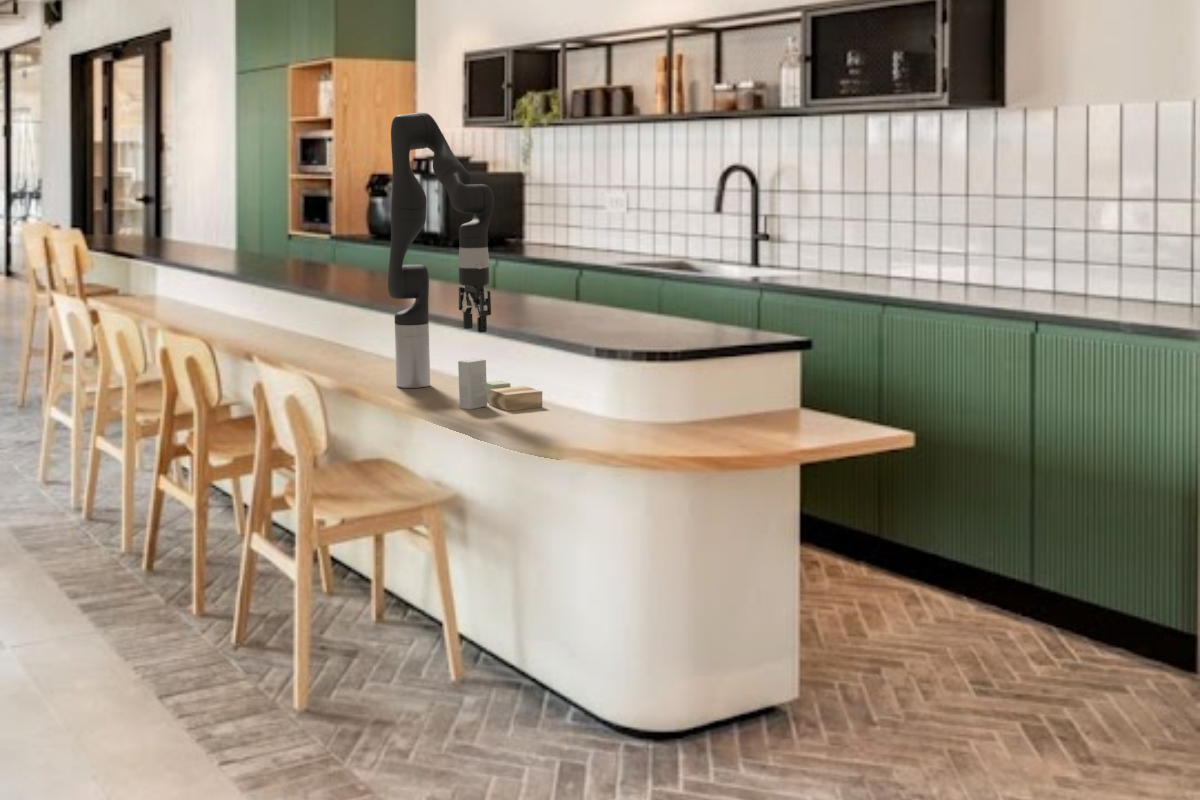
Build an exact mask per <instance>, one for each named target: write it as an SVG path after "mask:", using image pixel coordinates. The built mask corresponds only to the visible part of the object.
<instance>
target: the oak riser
mask: <svg viewBox="0 0 1200 800" xmlns="http://www.w3.org/2000/svg"><path fill="white" fill-rule="evenodd" d="M488 403H489V406H491V407H495V408H498V409H501V410H504V411H507V412H508V411H518V410H526V409H527V410H528V409H537V408H543V391H541V390H539V389H536V388H532V387H530V386H529V387H528V386H527V385H518V386H510V387H508V388H497V389H489V402H488Z"/></svg>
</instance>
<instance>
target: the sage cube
mask: <svg viewBox="0 0 1200 800" xmlns="http://www.w3.org/2000/svg"><path fill="white" fill-rule="evenodd" d="M486 382H487V403H489V389H497V388H508V387H511V383H510V382H508V381H504V380H494V381H486Z"/></svg>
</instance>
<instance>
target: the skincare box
mask: <svg viewBox="0 0 1200 800" xmlns="http://www.w3.org/2000/svg"><path fill="white" fill-rule="evenodd" d="M457 364H458V365H457V366H458V370H457V371H458V389H459V408H460V409H466V410H476V409H479V408H483V407H488V402H487V382H488V381H487V360H486V359H484V358H470V359H469V358H468V359H464V360H463V359H462V360H458V362H457Z"/></svg>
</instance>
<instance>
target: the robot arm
mask: <svg viewBox="0 0 1200 800" xmlns="http://www.w3.org/2000/svg"><path fill="white" fill-rule="evenodd" d="M390 145H391V146H390V147H391V148H390V149H391V159H392V161H391V163H392V182H391V183H392V189H391V207H390V209H391V210H390V224H391V225H390V251H389V260H388V261H389V262H388V263H389V264H388V270H387V271H388V273H387V291H388V294H389V295H390V298H392V299H395V300H404V299H405V300H406V299H407V300H408V299H409V300H410V299H412V300H413V299H415V300H414V302H413V304H411V305H410V306H409V307H406V308H405V309H402V310H400V311H398V312H396V313H395V314H394V337H395V338H394V339H395V342H394V343H395V344H394V345H395V379H396V380H395V381H396V382H395V383H396V384H395V385H396V387H398V388H406V389H411V388H412V389H414V388H415V389H417V388H419V389H420V388H425V387H430V386H431V362H430V361H431V360H430V359H431V358H430V326H429V324H430V323H429V321H430V320H429V315H430V314H429V297H430V295H429V292H430V275H429V270H428V268H427V267H426V265H425V264H421V263H419V264H418V263H417V264H403V263H404V260H405V256H406V255H407V252H408V250H409V248H410V246H411V245H412V243H413V242H414V241H415V239H416V238H417V236H418V235H419V233H421V231H422V229H423V227H424V226H425V223H426V221H427V220H426V219H427V196H426V193H425V190H424V189H423V187H422V185H421V184H420V182H419V180H418V179H417V177H416V175H415V174H414V172H413V170H412V167H411V162H410V159H411V158H410V153H411V151H413V150H422V149H429V150H430V151H432V152H433V158H432V170H433V173H434V176H435V177H436V178H437V180H438V181H439V182H440V183H441V186H443V188H445V190H446V193H447V195H448V198H449V201H450V205H451V206H452V208H453V210H455V211H456V212H457V213H460V214H474V215H473V216H472V219H471V220H470V221H468V222H465V223H462V224H461V225H460V226H459V229H458V239H459V240H458V243H459V245H458V246H459V247H458V248H459V249H458V283H459V285H460V286H459V287H458V310H459V311H461V313H462V318H463V319H462V320H463V326H462V327H463V329H466V330H469V329H473V326H474V325H473V311H475V313H476V316H477V318H476V320H477V321H476V322H477V323H476V325H477V330H476V331H477V332H478V333H479V334H481V333H487V329H488V328H487V327H488V325H487V324H488V323H487V321H488V320H487V319H488V317H489V316H492V305H491V304H492V303H491V291H490V290H485V288H484V286H487V285H489V284H490V256H489V246H488V245H489V243H488V240H489V239H488V232H489V231H488V230H489V226H490V222H491V217H492V213H493V209H494V206H495V195H494V192H493V190H492V189H491V187H490V186H489V185H487V184H484V183H479V184H478V183H477V184H474V183H473V184H472V177H471V174H470V172H469V171H468V170H467V169H466V168H465V166H464V165H463V164H462V163H461V161H460V160H459V159H458V157H456V155H455V154H454V152H453V151H452V149H451V147H450V145H449V143H448V141H447V140H446V138H445V136H444V134H443V132H442V130H441V128H440V126H439V125H438V123H437V121H436V120H435V118H433V116H431V115H430V114H429V113H427V112H414V113H405V114H403V113H402V114H398V115H395V116H394V117H393V119H392V121H391V126H390Z"/></svg>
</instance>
